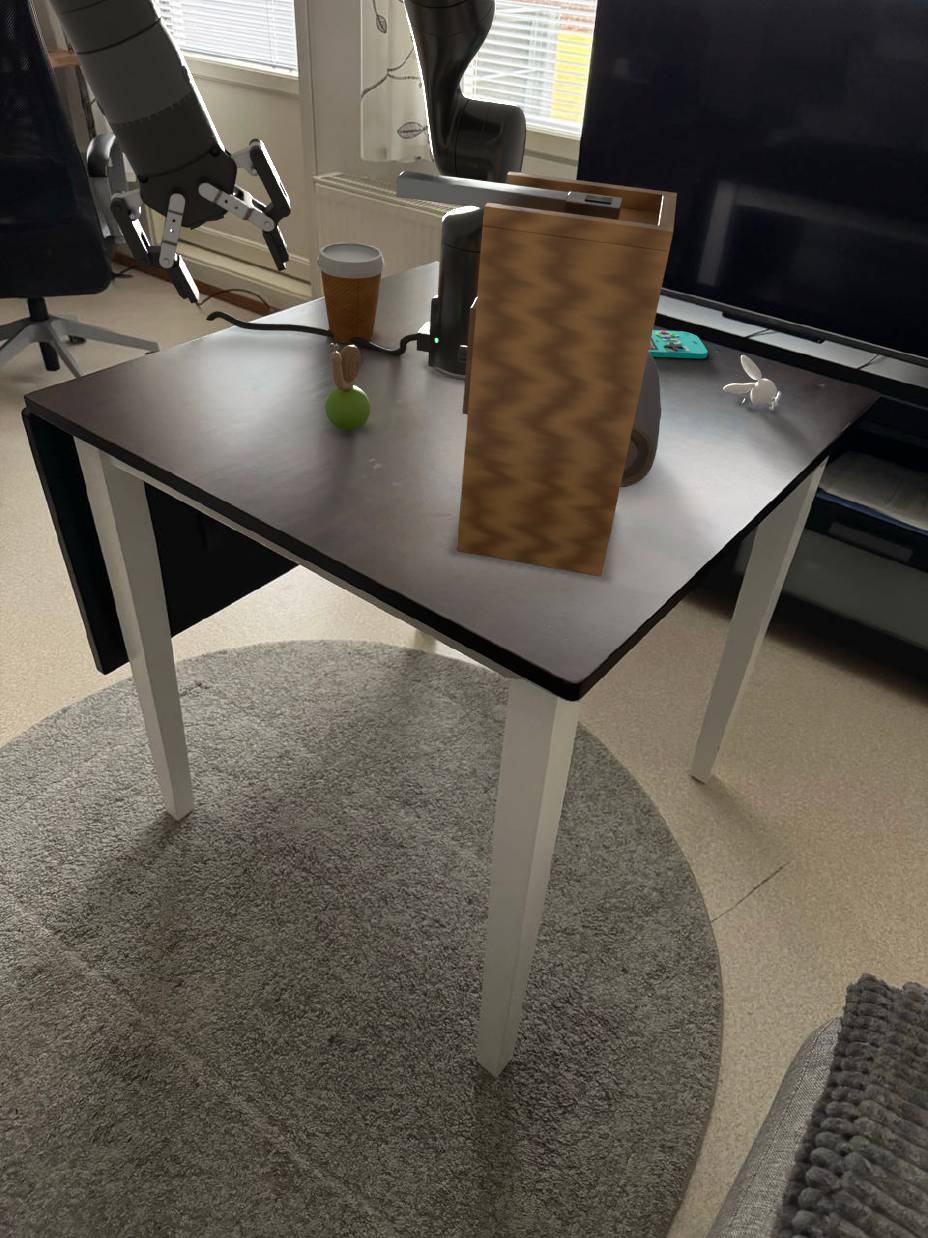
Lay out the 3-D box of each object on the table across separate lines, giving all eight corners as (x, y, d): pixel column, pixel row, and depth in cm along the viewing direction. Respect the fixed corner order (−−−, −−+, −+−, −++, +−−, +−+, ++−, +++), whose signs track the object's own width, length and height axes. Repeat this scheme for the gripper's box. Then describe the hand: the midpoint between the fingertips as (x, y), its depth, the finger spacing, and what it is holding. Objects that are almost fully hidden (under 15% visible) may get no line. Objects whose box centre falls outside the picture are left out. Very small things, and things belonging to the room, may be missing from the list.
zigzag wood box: (441, 548, 94) (464, 203, 73) (464, 490, 103) (491, 168, 82) (601, 577, 92) (673, 231, 71) (611, 515, 101) (677, 192, 80)
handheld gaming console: (710, 351, 136) (611, 348, 135) (708, 358, 137) (610, 355, 136) (695, 330, 143) (601, 326, 141) (693, 336, 144) (600, 332, 142)
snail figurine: (314, 435, 110) (310, 339, 103) (337, 414, 115) (336, 320, 108) (355, 445, 109) (354, 349, 102) (377, 423, 114) (378, 330, 106)
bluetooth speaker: (650, 503, 104) (668, 423, 97) (568, 491, 105) (581, 411, 98) (653, 415, 121) (669, 342, 115) (583, 405, 122) (595, 332, 116)
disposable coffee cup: (328, 319, 139) (326, 237, 131) (389, 327, 138) (391, 245, 130) (311, 343, 131) (308, 258, 124) (376, 352, 131) (377, 267, 123)
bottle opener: (394, 198, 78) (395, 176, 77) (404, 188, 80) (405, 167, 79) (616, 227, 76) (620, 206, 75) (619, 217, 78) (622, 196, 77)
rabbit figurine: (772, 418, 123) (726, 382, 122) (757, 427, 127) (712, 393, 126) (793, 385, 124) (747, 349, 124) (778, 395, 128) (733, 361, 127)
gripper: (232, 51, 74) (308, 239, 86) (70, 112, 75) (167, 290, 87) (233, 78, 69) (314, 274, 81) (59, 144, 70) (165, 328, 81)
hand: (238, 282), depth 84 cm, fingers open, 8 cm apart
